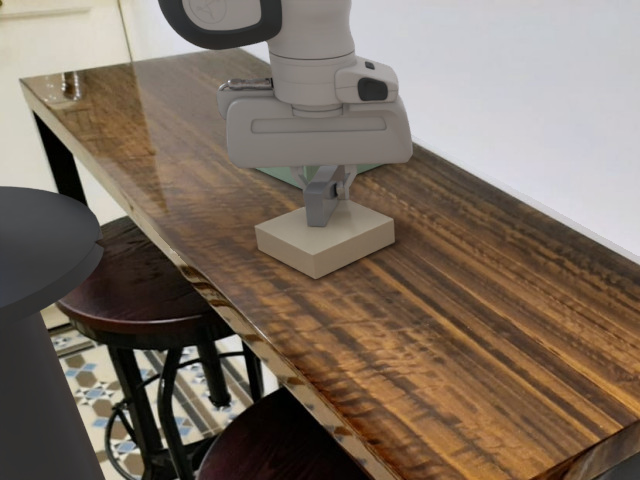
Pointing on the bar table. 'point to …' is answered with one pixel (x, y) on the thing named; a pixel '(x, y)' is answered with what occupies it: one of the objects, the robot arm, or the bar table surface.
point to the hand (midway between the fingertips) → (327, 199)
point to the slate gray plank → (322, 194)
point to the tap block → (325, 238)
